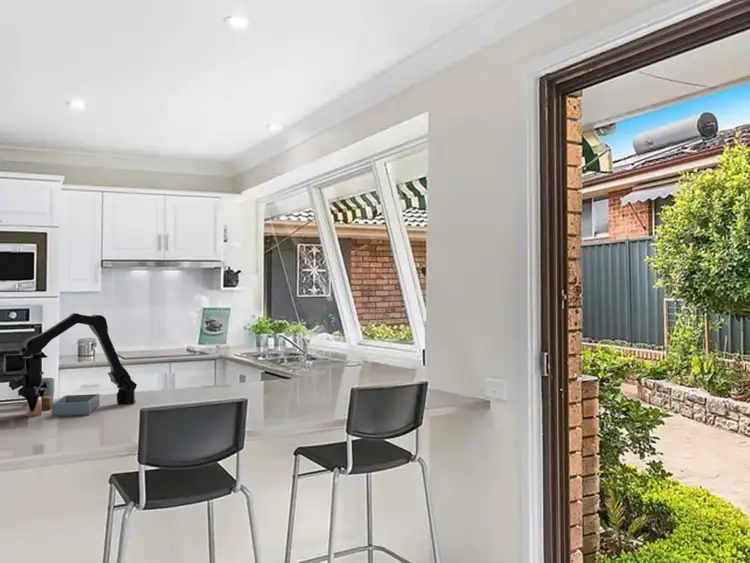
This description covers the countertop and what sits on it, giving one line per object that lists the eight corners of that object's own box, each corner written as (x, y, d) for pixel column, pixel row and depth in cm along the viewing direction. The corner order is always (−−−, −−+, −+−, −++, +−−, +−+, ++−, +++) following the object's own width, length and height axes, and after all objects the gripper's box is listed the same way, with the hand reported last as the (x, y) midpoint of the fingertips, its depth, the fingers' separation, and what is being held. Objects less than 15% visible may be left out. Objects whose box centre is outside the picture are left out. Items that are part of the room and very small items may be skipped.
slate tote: (99, 405, 281) (99, 393, 281) (88, 415, 262) (88, 402, 262) (65, 407, 278) (64, 395, 278) (51, 417, 259) (51, 404, 259)
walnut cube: (53, 408, 278) (52, 396, 278) (49, 410, 273) (49, 398, 273) (40, 408, 277) (39, 396, 277) (36, 411, 272) (36, 398, 272)
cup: (46, 404, 287) (45, 380, 287) (30, 403, 289) (29, 380, 288) (58, 400, 295) (57, 377, 295) (42, 400, 296) (42, 377, 296)
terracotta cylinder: (43, 413, 266) (43, 395, 266) (39, 416, 261) (39, 398, 261) (29, 414, 265) (29, 396, 265) (25, 416, 261) (25, 398, 260)
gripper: (19, 367, 271) (19, 406, 271) (2, 374, 253) (3, 415, 253) (49, 366, 273) (49, 405, 273) (34, 373, 255) (35, 414, 255)
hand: (34, 410), depth 263 cm, fingers closed on terracotta cylinder, 5 cm apart
